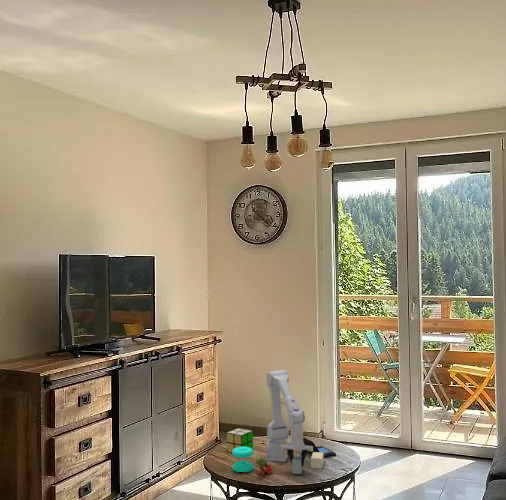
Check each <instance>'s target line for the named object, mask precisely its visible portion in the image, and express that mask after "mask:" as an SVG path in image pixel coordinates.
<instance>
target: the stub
mask: <svg viewBox="0 0 506 500" xmlns="http://www.w3.org/2000/svg"><path fill="white" fill-rule="evenodd" d="M291 469H292V471H291V474H292V475H301V474H302V472H303V469H304V466H303V467H302V457H301V454H299V455H298V454H293V459H292V464H291Z"/></svg>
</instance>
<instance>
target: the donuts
mask: <svg viewBox="0 0 506 500" xmlns="http://www.w3.org/2000/svg"><path fill="white" fill-rule="evenodd" d="M231 454H232V456H233V457H235V458H236V459H248V458H250V457H252V456H253V454H254V448H253V449H252V448H250V447H237V448H234V449H233V451H232V453H231ZM253 470H254V464H253V463H252V462H251V461H249V460H238V461H236V462H234V463H233V465H232V471H234V472H235V471H236V472H235V473H238V472H247V473H249V472H252V471H253Z"/></svg>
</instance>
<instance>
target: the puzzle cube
mask: <svg viewBox="0 0 506 500" xmlns="http://www.w3.org/2000/svg"><path fill="white" fill-rule="evenodd" d="M253 436H254V433H253V430H249V429H244V428H238V427H237V428H235V429H232V430H230V431H228V432H226V451H227V450H229V451H233V449H234V448H237V447H250V448H252V449H253V450H254V441H253V440H254V437H253Z"/></svg>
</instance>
